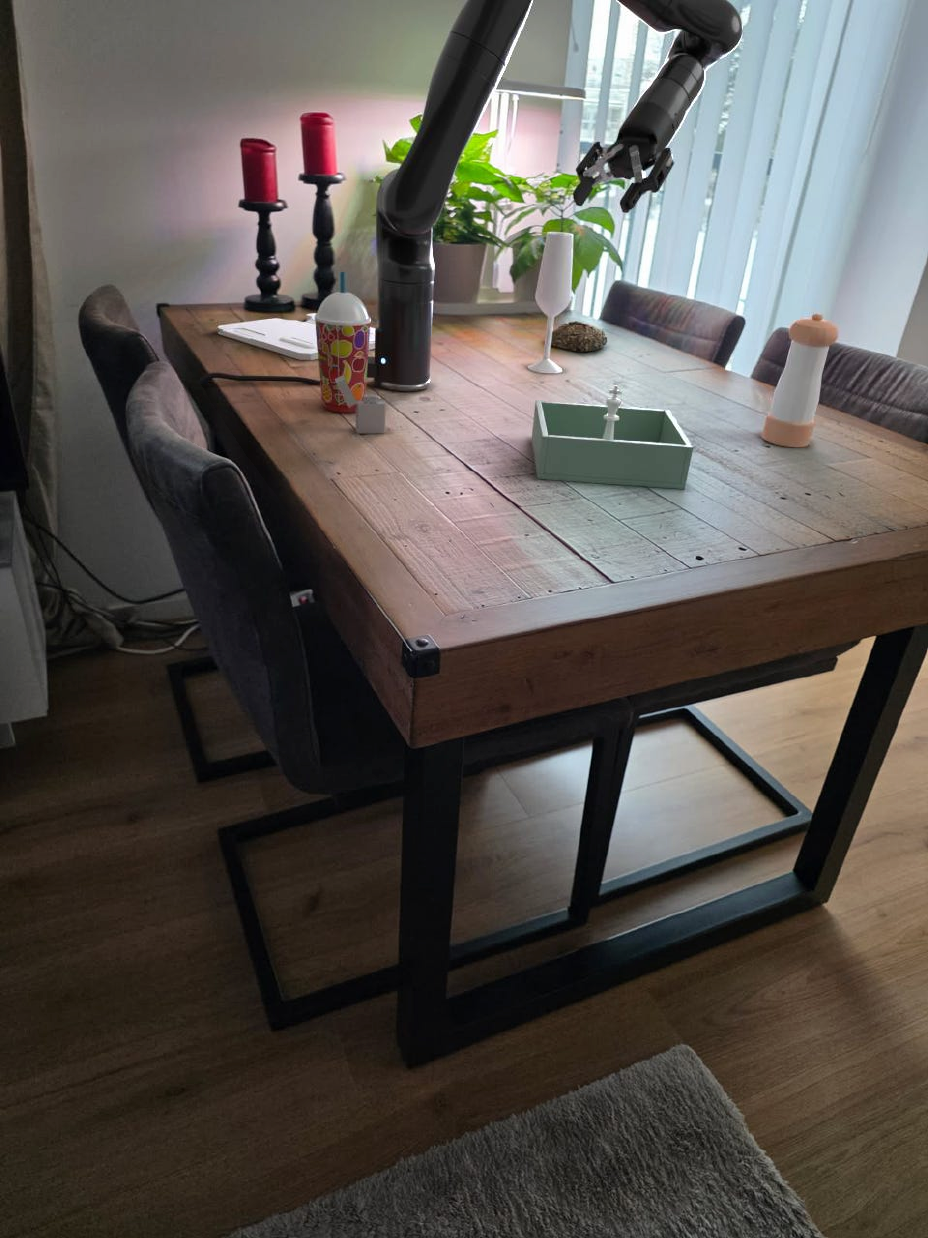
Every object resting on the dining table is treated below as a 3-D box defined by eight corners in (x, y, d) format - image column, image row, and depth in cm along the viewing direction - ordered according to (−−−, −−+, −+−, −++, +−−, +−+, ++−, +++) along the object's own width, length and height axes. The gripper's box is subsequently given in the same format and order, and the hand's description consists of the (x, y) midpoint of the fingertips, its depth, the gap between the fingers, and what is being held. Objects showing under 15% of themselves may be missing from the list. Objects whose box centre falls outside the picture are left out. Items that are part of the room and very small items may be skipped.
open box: (537, 478, 112) (542, 436, 110) (531, 438, 127) (535, 400, 124) (684, 489, 113) (693, 447, 110) (662, 448, 127) (669, 410, 124)
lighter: (383, 429, 126) (384, 374, 122) (385, 433, 125) (386, 378, 121) (335, 429, 124) (334, 374, 120) (336, 433, 123) (336, 377, 119)
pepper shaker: (785, 449, 131) (819, 319, 121) (751, 434, 136) (781, 309, 127) (818, 445, 134) (855, 318, 124) (784, 430, 139) (816, 308, 130)
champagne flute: (523, 369, 163) (536, 232, 151) (533, 362, 168) (547, 230, 156) (556, 375, 161) (573, 237, 149) (566, 367, 166) (583, 234, 154)
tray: (213, 332, 172) (212, 324, 171) (318, 317, 191) (318, 310, 191) (304, 361, 157) (304, 352, 156) (409, 342, 176) (409, 334, 176)
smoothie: (318, 399, 137) (315, 266, 127) (370, 401, 138) (371, 269, 128) (314, 414, 130) (311, 274, 120) (369, 416, 131) (371, 278, 121)
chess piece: (622, 464, 117) (634, 392, 112) (586, 460, 118) (596, 387, 113) (623, 453, 121) (635, 383, 116) (588, 449, 122) (599, 378, 117)
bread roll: (613, 346, 187) (617, 322, 184) (589, 355, 177) (593, 330, 175) (561, 336, 192) (564, 313, 190) (535, 344, 183) (538, 320, 180)
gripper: (608, 97, 130) (553, 180, 129) (689, 101, 122) (632, 190, 121) (622, 138, 137) (569, 218, 135) (700, 144, 129) (646, 230, 127)
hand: (599, 205), depth 128 cm, fingers open, 8 cm apart
